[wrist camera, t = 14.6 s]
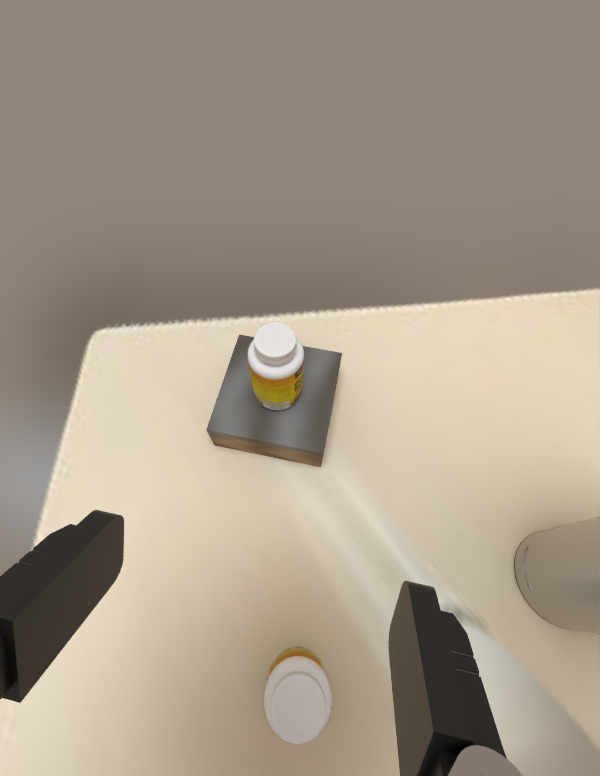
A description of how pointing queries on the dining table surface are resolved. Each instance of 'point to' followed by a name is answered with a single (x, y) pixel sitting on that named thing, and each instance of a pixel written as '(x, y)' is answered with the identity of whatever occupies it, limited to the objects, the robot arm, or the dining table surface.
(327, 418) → the block
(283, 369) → the supplement bottle
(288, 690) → the supplement bottle
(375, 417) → the dining table surface
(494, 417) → the dining table surface
